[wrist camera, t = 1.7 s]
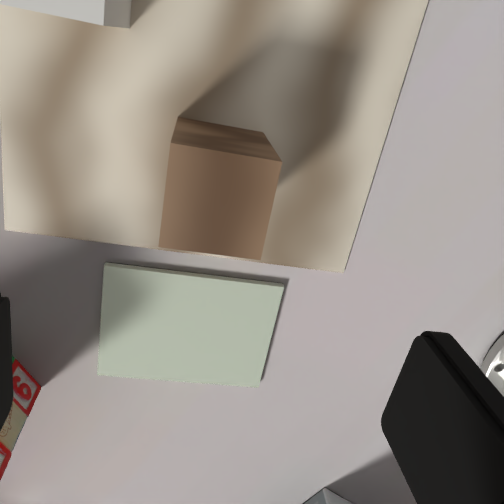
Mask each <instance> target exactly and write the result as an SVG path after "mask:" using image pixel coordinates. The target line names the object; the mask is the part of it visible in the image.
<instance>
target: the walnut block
mask: <svg viewBox="0 0 504 504" xmlns="http://www.w3.org/2000/svg"><path fill="white" fill-rule="evenodd" d="M281 166H282V160H281V159H280V157H279V156H278V154H277V153H276V151H275V150H274V148H273V147H272V145H271V143H270V142H269V140H268V139H267V137H266V136H265V134H264V133H263V132H260V131H254V130H249V129H243V128H238V127H232V126H226V125H221V124H215V123H210V122H204V121H199V120H193V119H187V118H182V117H178V118H177V122H176V125H175V129H174V132H173V136H172V139H171V143H170V151H169V159H168V168H167V176H166V185H165V194H164V202H163V211H162V219H161V228H160V237H159V245H158V247H161V248H168V249H176V250H184V251H192V252H200V253H207V254H215V255H223V256H231V257H239V258H246V259H254V260H261V256H262V252H263V247H264V243H265V238H266V234H267V229H268V225H269V220H270V216H271V211H272V207H273V202H274V198H275V193H276V189H277V184H278V180H279V175H280V171H281Z"/></svg>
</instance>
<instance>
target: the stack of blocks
mask: <svg viewBox="0 0 504 504" xmlns="http://www.w3.org/2000/svg"><path fill="white" fill-rule="evenodd" d="M12 370H13V402H12V407H11V410H10V412H9V415H8V417H7V419H6V421H5V423H4V425H3V427H2V429H1V431H0V480H1V478H2V476H3V474H4V471H5V469H6V467H7V464H8V462H9V460H10V458H11V452H12V451H13V449H14V446H15V444H16V442H17V439H18V437H19V435H20V432H21V430H22V428H23V426H24V424H25V421H26V419H27V417H28V416H29V414H30V412H31V410H32V407H33V405H34V402H35V400H36V398H37V396H38V394H39V392H40V390H41V386H40V385H39V384H38V383H37V382H36V381H35V379H34V378H33V377H32V376H31V375H30V374H29V373H28V372H27V371H26V369H25V368H24V367H23V366H22V365H21V364H20V363H19V362H18V361H17V360H16V359H15V358H14V357H13V356H12Z"/></svg>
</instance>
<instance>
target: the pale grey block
mask: <svg viewBox="0 0 504 504" xmlns="http://www.w3.org/2000/svg"><path fill="white" fill-rule="evenodd" d="M131 1H132V0H0V4H2V5H7V6H12V7H16V8H21V9H26V10H31V11H35V12H40V13H45V14H50V15H55V16H59V17H64V18H69V19H74V20H79V21H83V22H88V23H93V24H98V25H103V26H111V27H120V28H129V29H130V15H131Z"/></svg>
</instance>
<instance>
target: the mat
mask: <svg viewBox="0 0 504 504" xmlns="http://www.w3.org/2000/svg"><path fill="white" fill-rule="evenodd" d="M283 289H284V286H283V284H282V283H273V282H265V281H257V280H248V279H240V278H232V277H223V276H215V275H207V274H198V273H190V272H182V271H173V270H165V269H157V268H149V267H140V266H132V265H124V264H115V263H107V262H105V264H104V273H103V289H102V305H101V321H100V337H99V353H98V369H97V375H101V376H114V377H127V378H139V379H152V380H165V381H178V382H191V383H204V384H217V385H230V386H242V387H255V388H259V384H260V380H261V376H262V372H263V368H264V364H265V360H266V356H267V352H268V348H269V344H270V340H271V336H272V333H273V329H274V325H275V321H276V317H277V313H278V309H279V305H280V301H281V297H282V293H283Z"/></svg>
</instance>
